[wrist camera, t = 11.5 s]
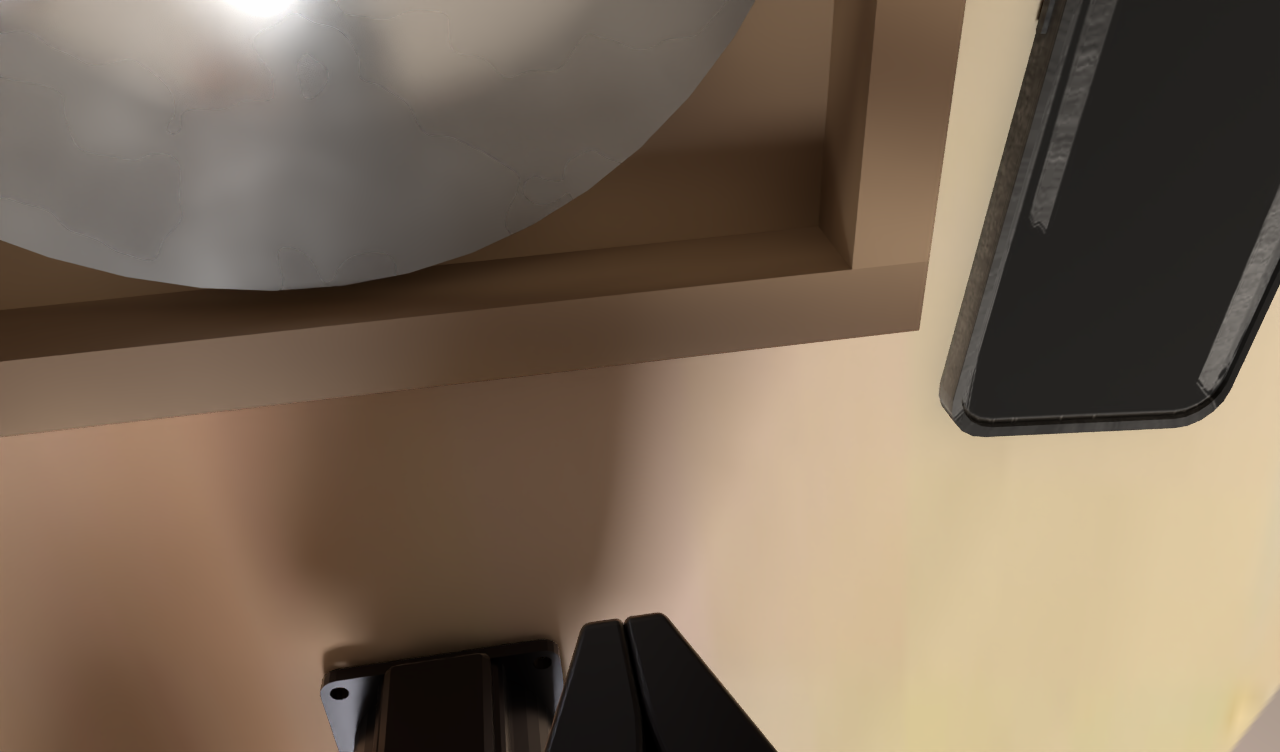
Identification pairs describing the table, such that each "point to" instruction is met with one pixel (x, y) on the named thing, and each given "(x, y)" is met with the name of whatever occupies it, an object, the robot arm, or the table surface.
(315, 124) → the dial
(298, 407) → the table surface
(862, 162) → the square wooden tray
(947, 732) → the table surface
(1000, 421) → the phone
